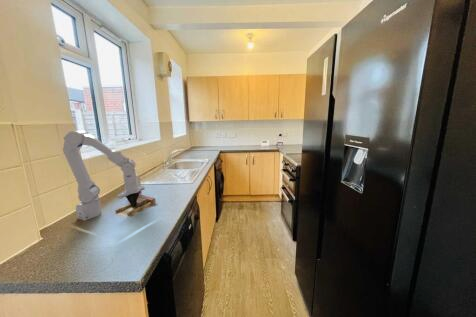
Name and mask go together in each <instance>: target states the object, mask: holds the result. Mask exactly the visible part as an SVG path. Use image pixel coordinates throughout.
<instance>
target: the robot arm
mask: <svg viewBox="0 0 476 317" xmlns="http://www.w3.org/2000/svg"><path fill="white" fill-rule="evenodd" d="M63 140H64V142H63V147H62V152H63V154H64V156H65V159H66V160H67V163H68V165H69V167H70V169H71V171H72V174H73V176H74V178H75V180H76V182H77V185H78V186H77V192H78V200H79V201H80V203H78V204H76V206H75V210H76V217H77V219H78V220H81V221H85V222H86V221H87V220H90V219H92V218H96V217H98V216H101V215H102V206H101V201H100V197H99V194H100V193H101V192H100V191H101V189H100V188H99V186H98V185H97V184H96V182H94V181H93V180H92V179H91V177H90V174H89V173H88V169H87V167H86V165H85V163H84V161H83V159H82V156H81V154H80V150H81V149H82V147H83V146H90V147H92V148H94V149H96V150H98V151H99V152H100V153H103V155H106V156H107V160H108V161H110V162H112V163H113V164H114V165H116V166H117V167H118V168H120V170H121V171H122V173H123V182H124V191H123V192H121V193H118V194H117V199H118V200H119V199H120V200H122V199H123V198H126V199H127V201H128V202H129V204H131V207H135V206H136V203H137V199H138V196H139V193H137V192H139V191H141V192H142V191H145V186H143V185H141V187H137V180H136V174H137V173H136V169H135V168H136V163H135V161H134V160H133V159H130V158H129V157H127V156H125V155H123V154H122V152H121V151H120V150H112V149H111V148H109V147H108V146H107V145H106V144H104V143H103V142H102V141H100V140H99V139H98V138H97V137H95V136H94V135H93V134H91V133H89V132H88V131H86V130H83V129H81V130H72V131H69V132H67V134H65V136H64V137H63Z"/></svg>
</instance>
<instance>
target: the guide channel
mask: <svg viewBox="0 0 476 317" xmlns="http://www.w3.org/2000/svg"><path fill="white" fill-rule="evenodd" d="M139 198H142V199H147V204H145V205H143V206H141V207H139V208H134V207H131V204H130V203H128V204H126V205H123V206H121V207H119V208H116V209H115V210H114V212H112V214H114V215H119V216H122V217H126V218H131V217H133V216H135V215H137V214H139V213H141V212H143V211H146V210H148V209H149V208H152V207H153V206H155V205H157V204H158V203H157V202H156V198H155V197H151V196H150V197H149V196H145V195H142V196H141V197H139Z"/></svg>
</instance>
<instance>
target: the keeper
mask: <svg viewBox="0 0 476 317" xmlns="http://www.w3.org/2000/svg"><path fill="white" fill-rule="evenodd" d="M145 204H147V199H142V198H138V199H137V203H136V206H135V207H134V208H139V207H141V206H143V205H145Z"/></svg>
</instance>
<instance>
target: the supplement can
mask: <svg viewBox="0 0 476 317" xmlns="http://www.w3.org/2000/svg"><path fill="white" fill-rule="evenodd" d="M136 180H137V187H141V186H142V185H141V178H140V175H139V174H138V173H136ZM137 193H139V196H138V198H139V197H141V196H143V195H142V194H143V193H142V190H141V191H139V192H137Z"/></svg>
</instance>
